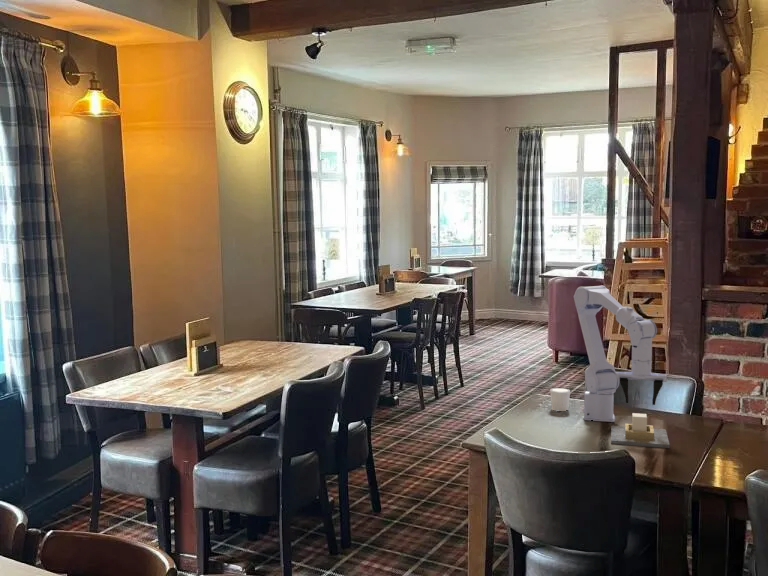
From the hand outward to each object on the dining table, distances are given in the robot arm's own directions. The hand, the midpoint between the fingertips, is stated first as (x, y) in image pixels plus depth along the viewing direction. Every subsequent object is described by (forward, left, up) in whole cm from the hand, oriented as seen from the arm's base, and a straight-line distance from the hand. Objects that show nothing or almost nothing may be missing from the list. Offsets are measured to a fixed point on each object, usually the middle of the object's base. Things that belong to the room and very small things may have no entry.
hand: (640, 403), depth 221 cm
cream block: (0, -6, -8) cm, 10 cm away
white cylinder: (-25, +21, -10) cm, 34 cm away
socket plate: (0, -6, -9) cm, 11 cm away
